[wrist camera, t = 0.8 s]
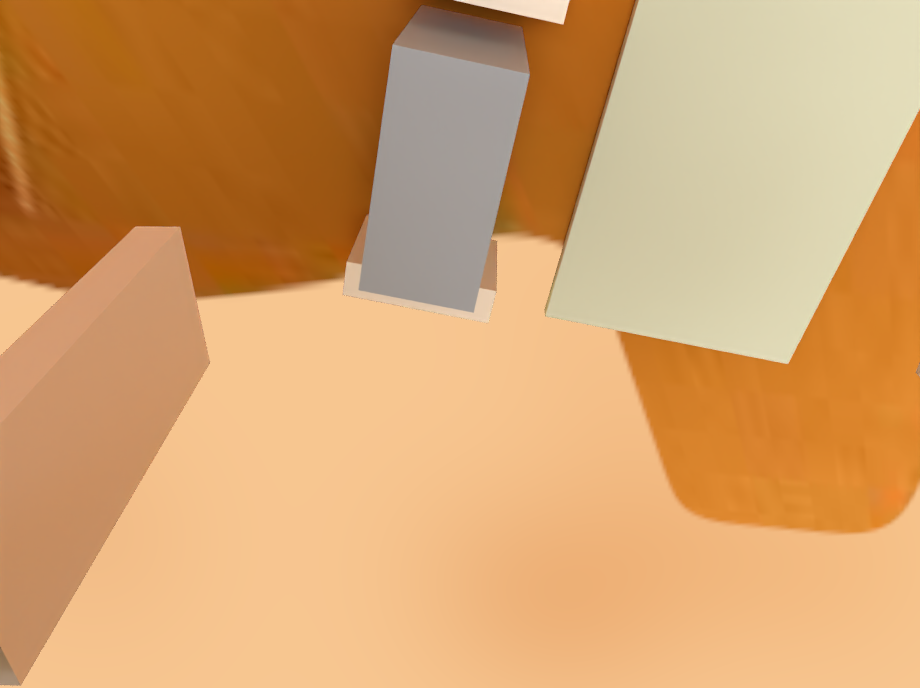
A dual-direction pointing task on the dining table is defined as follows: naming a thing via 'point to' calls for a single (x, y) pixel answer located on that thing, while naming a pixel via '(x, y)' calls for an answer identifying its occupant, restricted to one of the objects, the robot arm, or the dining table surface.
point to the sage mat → (736, 167)
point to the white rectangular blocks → (547, 5)
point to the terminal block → (443, 156)
